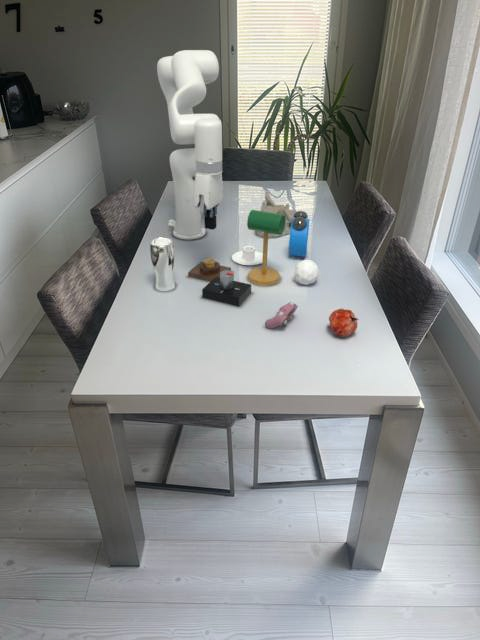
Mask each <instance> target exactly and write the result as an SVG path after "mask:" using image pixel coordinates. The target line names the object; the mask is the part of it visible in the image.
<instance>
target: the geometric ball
mask: <svg viewBox="0 0 480 640" xmlns="http://www.w3.org/2000/svg"><path fill="white" fill-rule="evenodd" d="M293 274H294V278H295V280H296V281H297V282H298V283H299V284H300V285H305V286H308V285H312V284H313V283H315V282H316V281H317V279H319V275H320V269H319V266H318V264H317V263H315V262H314V261H313V260H311V259H303V260H301V261H299V262H298V263H297V264H296V265H295V266H294V269H293Z"/></svg>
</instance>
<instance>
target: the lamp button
mask: <svg viewBox="0 0 480 640" xmlns="http://www.w3.org/2000/svg"><path fill="white" fill-rule="evenodd" d="M215 261H216V260H215V259H214V258H206V259H204V260H203V262H204V267H207V268H213V267H215Z"/></svg>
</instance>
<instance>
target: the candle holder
mask: <svg viewBox="0 0 480 640" xmlns="http://www.w3.org/2000/svg"><path fill="white" fill-rule="evenodd" d="M231 260H232V262H234V263H236V264H239V265H244V266H255V265H256V266H258V265H262V262H263V252H261V251H258V250H256V248H255V246H252V245H245V246H243V247H242V250H239V251H235V253H233V254H232V255H231Z"/></svg>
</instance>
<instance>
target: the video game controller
mask: <svg viewBox="0 0 480 640" xmlns="http://www.w3.org/2000/svg"><path fill="white" fill-rule="evenodd" d="M298 307H299V306H298V304H296V303H295V302H292V301H290V302H288V303H286V304H284V305H282V306H280V308H279V309H278V312H277V313H276V315H274V316H273V317H271V318H269V319H267V320H265V322H264V326H265V328H268V329H275V328H278V327H282V325H287V323H288V321H289V320H290V319H291V316H292V315H293V314H294V313H295V312H296V311H297V309H298Z"/></svg>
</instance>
